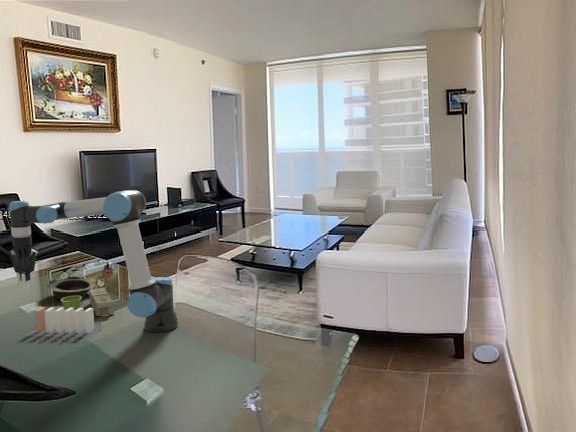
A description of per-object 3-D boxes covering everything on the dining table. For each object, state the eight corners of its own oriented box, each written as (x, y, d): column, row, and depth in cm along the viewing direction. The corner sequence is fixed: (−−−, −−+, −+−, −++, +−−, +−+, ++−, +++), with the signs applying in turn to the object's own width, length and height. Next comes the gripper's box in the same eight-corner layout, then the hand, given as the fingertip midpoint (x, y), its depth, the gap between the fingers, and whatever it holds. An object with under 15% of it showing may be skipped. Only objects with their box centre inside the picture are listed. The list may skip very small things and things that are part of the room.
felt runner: (105, 326, 219) (105, 325, 219) (90, 338, 205) (90, 337, 205) (42, 325, 221) (42, 324, 221) (24, 337, 207) (24, 336, 207)
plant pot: (77, 318, 230) (76, 301, 229) (58, 318, 230) (57, 301, 229) (86, 312, 239) (84, 295, 238) (67, 312, 240) (66, 295, 238)
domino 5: (84, 328, 215) (83, 307, 214) (79, 333, 210) (78, 311, 209) (81, 328, 215) (79, 307, 214) (75, 332, 210) (74, 311, 209)
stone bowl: (47, 293, 272) (48, 277, 272) (94, 290, 283) (94, 275, 282) (46, 304, 250) (46, 287, 249) (96, 301, 261) (97, 285, 260)
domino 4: (75, 328, 215) (73, 307, 214) (69, 332, 210) (68, 311, 209) (71, 328, 215) (70, 307, 214) (65, 332, 210) (64, 311, 209)
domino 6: (94, 329, 215) (93, 307, 213) (89, 333, 210) (87, 311, 208) (90, 328, 215) (89, 307, 213) (85, 333, 210) (83, 311, 208)
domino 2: (56, 328, 216) (54, 307, 214) (50, 332, 211) (48, 311, 209) (52, 328, 216) (50, 307, 215) (46, 332, 211) (44, 311, 210)
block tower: (90, 305, 254) (97, 319, 229) (88, 289, 253) (96, 302, 228) (105, 302, 258) (114, 316, 233) (104, 287, 257) (113, 299, 232)
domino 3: (65, 328, 215) (64, 307, 214) (60, 332, 210) (58, 311, 209) (62, 328, 216) (60, 307, 214) (56, 332, 211) (54, 311, 209)
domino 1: (46, 328, 216) (45, 307, 215) (40, 332, 211) (38, 310, 210) (43, 328, 216) (41, 307, 215) (36, 332, 211) (34, 310, 210)
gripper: (40, 234, 212) (44, 285, 215) (12, 234, 212) (17, 285, 215) (30, 237, 204) (35, 290, 207) (1, 237, 205) (6, 289, 208)
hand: (26, 287), depth 211 cm, fingers closed
